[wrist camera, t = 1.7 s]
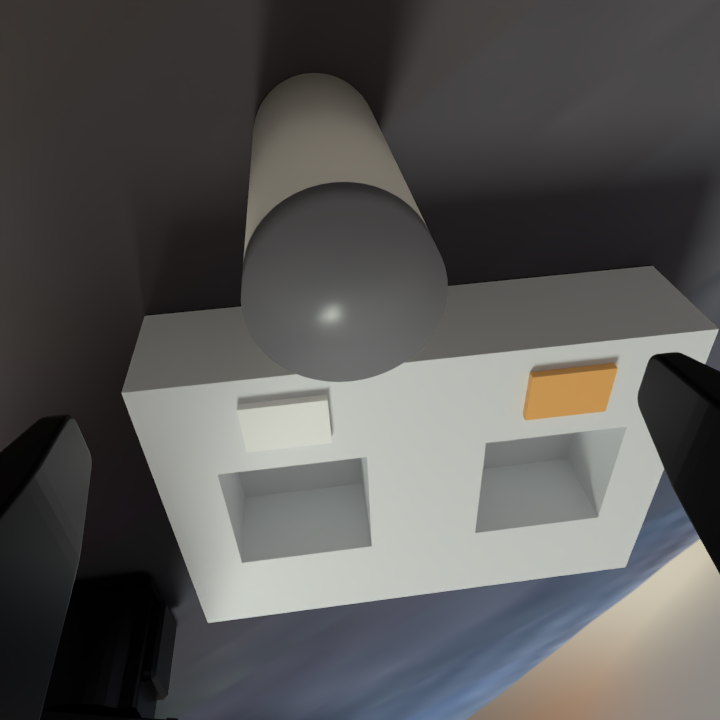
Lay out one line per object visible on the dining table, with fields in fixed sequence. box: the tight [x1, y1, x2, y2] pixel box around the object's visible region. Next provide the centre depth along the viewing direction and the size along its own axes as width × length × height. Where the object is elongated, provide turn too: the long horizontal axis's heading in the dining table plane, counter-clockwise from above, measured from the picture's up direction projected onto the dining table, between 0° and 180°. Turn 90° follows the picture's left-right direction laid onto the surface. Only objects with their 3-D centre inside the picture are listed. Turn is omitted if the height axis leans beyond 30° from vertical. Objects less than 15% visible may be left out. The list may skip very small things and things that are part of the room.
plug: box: [241, 73, 448, 382], centre depth 16 cm, size 4×4×10 cm
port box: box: [121, 266, 719, 623], centre depth 26 cm, size 20×14×5 cm
